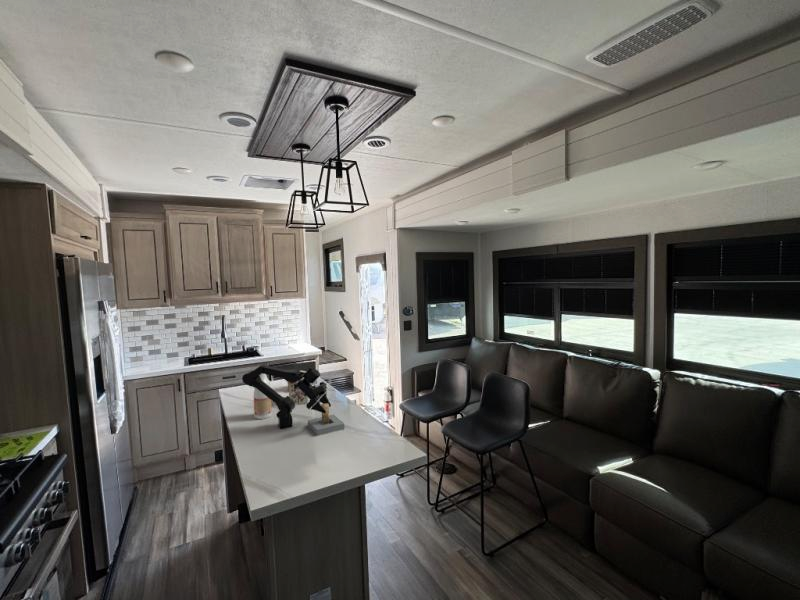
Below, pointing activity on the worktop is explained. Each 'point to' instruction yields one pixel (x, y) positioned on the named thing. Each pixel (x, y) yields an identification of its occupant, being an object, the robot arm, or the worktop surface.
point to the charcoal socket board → (322, 429)
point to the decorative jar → (297, 394)
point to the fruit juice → (262, 401)
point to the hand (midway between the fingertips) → (328, 409)
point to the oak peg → (325, 414)
